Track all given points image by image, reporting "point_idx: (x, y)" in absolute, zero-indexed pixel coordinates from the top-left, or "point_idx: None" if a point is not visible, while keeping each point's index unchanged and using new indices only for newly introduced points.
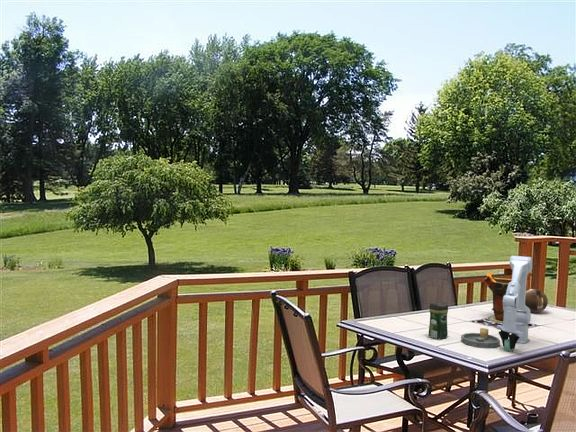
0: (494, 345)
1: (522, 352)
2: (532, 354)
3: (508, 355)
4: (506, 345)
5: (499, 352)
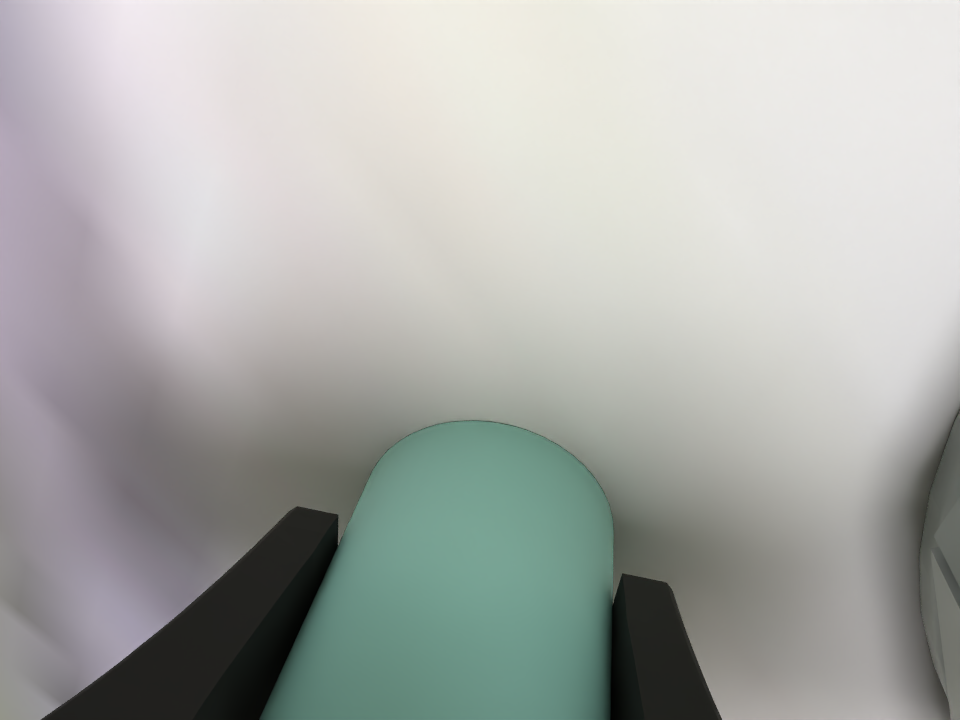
0: None
1: None
2: (57, 662)
3: (73, 77)
4: (425, 556)
5: (469, 85)
